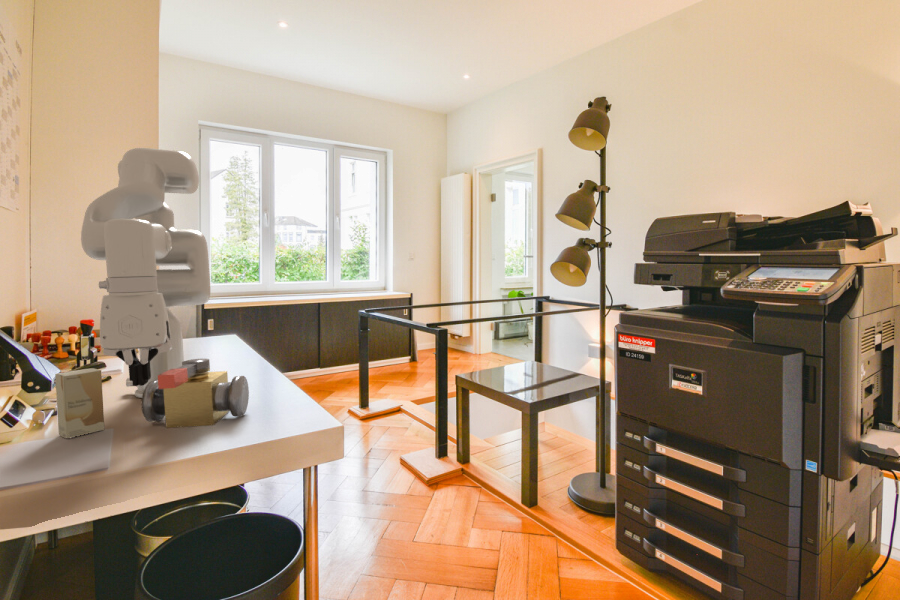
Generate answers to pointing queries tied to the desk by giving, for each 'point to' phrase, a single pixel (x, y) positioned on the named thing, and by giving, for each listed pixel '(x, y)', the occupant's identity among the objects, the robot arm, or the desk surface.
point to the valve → (196, 400)
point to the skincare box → (79, 402)
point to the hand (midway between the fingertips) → (140, 383)
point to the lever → (182, 373)
